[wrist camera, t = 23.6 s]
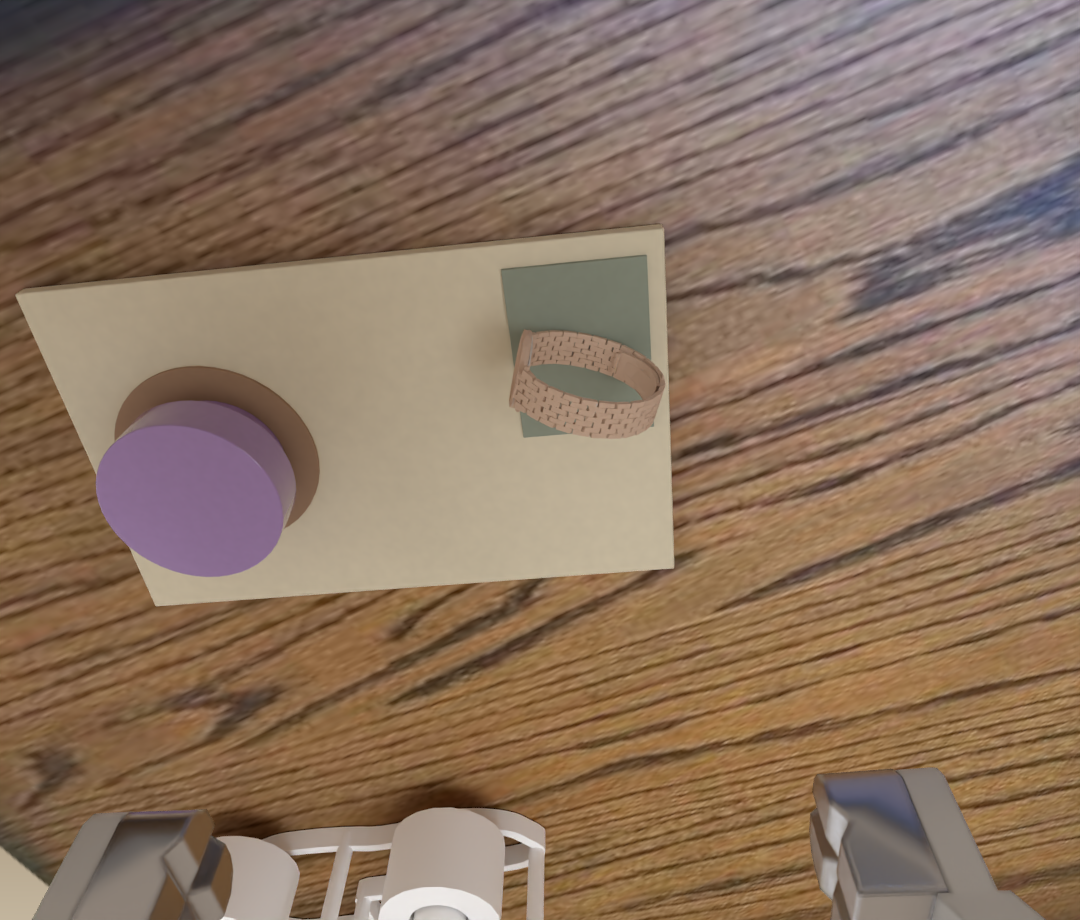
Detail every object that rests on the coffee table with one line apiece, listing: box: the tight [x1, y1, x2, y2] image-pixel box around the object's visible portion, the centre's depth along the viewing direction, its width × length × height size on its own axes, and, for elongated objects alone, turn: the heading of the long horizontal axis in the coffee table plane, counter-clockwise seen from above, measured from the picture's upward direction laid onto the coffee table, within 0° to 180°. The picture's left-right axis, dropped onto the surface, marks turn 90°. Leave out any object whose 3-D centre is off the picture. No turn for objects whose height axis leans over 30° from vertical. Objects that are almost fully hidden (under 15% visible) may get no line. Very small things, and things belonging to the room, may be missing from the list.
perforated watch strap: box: [509, 329, 666, 439], centre depth 27 cm, size 3×5×5 cm, turn 78°
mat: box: [16, 224, 674, 606], centre depth 32 cm, size 14×22×1 cm, turn 96°
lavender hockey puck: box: [96, 400, 296, 577], centre depth 30 cm, size 6×6×3 cm
